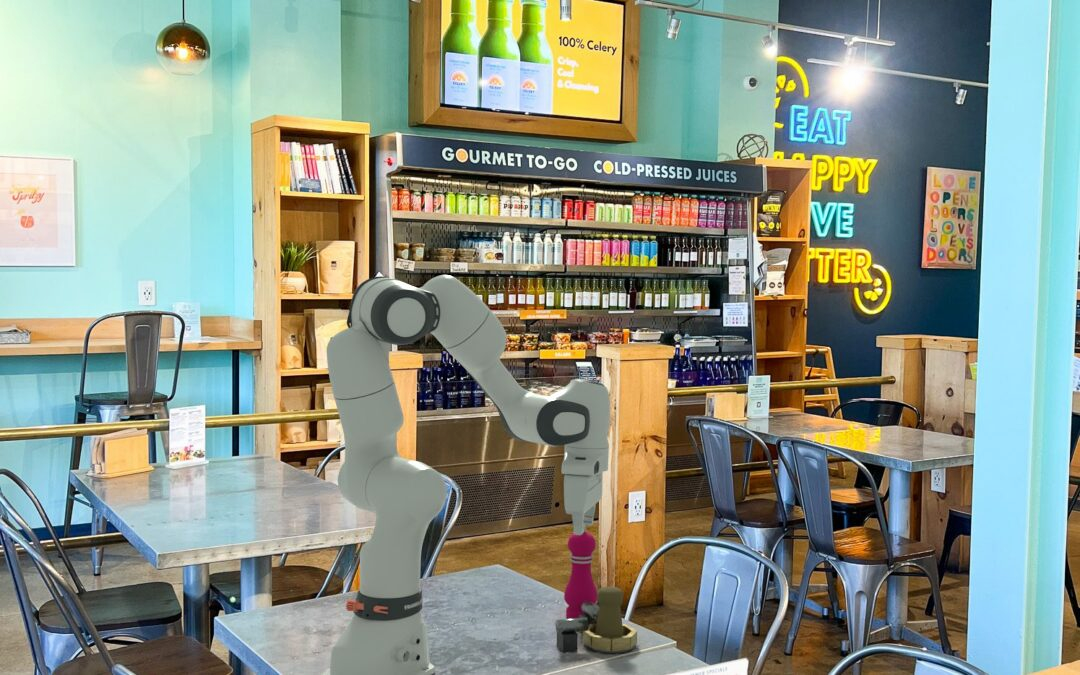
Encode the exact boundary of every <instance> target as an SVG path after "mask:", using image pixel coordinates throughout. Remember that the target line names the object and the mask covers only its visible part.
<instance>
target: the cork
mask: <svg viewBox="0 0 1080 675" xmlns="http://www.w3.org/2000/svg"><path fill="white" fill-rule="evenodd" d="M597 602H598V604H599V606H598V607H599V613H598V620H597V626H596V633H595V635H598V636H605V637H620V636H624V635H623V625H622V624H623V619H622V609H621V608H622V607H621V605H622V603H623V602H624V593H623V590H622V589H621V588H618V587H616V586H602V587H601V588H599V589H598V590H597Z"/></svg>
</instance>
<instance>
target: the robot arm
mask: <svg viewBox="0 0 1080 675" xmlns="http://www.w3.org/2000/svg"><path fill="white" fill-rule="evenodd" d="M346 325H347V328H345V329H343V330H341V331H339V332H337V333H335V335H333V336H332V337H331V338H330V339H329V341H328V343H327V346H326V362H327V371H328V375H329V382H330V387H331V391H332V395H333V398H334V402H335V404H336V409H337V412H338V416H339V420H340V423H341V424H340V425H341V427H342V432H343V436H344V437H343V438H344V462H343V463H342V465H341V466H340V468H339V471H338V474H337V487H338V490H339V493H340V494H341V495H342V497H343V498H344V499H345V500H347V501H348V502H349V503H350V504H352V505H353V506H355V507H356V508H358V509H360V510H363V511H367V512H369V513H373V514H375V524H374V527H373V531H372V535H371V537H370V539H369V540H367V541H366V542H365V543H364V544H363V545H362V547H361V549H360V552H359V589H358V590H357V594H356V597H355V600H354V599H348V600H346V603H345V609H346V611H347V612H353V613H354V614H353V616H352V618H351V620H350V621H349V622H348V624H347V625H346V626H345V628H344V630H343V631H342V633H341V635H340V636H339V638H337V640H336V642H335V644H334V645H333V646H332V650H331V654H330V667H328V668H327V669H325V671H323V672H322V673H321V674H320V675H434V674H435V673H436V668H435V665H434V664H432V663H431V661H430V647H429V635H428V634H429V633H428V627H427V624H426V622H425V620H424V618H423V616H422V613H421V611H422V609H423V603H424V602H423V601H424V596H423V590H422V588H421V564H422V563H421V559H422V558H421V557H422V549H423V548H422V547H423V543H424V540H425V536H426V533H427V530H428V528H429V525H430V523H431V522H432V520H433V519H434V518H436V517H437V516H439V514H440V513H441V511H442V510H443V508H444V506H445V504H446V500H447V494H448V489H447V488H448V487H447V483H446V480H445V479H444V476H443V475H442V474H441V473H440V472H439V471H437V470H436V469H434V468H433V467H431V466H429V465H428V464H426V463H424V462H421V461H418V460H413V459H409V458H404V457H402V456H401V455H400V453H399V451H398V447H397V446H398V445H397V442H398V441H397V439H398V438H397V437H398V432H399V431H400V430H401V428H402V427H403V424H404V418H405V417H404V413H403V410H402V406H401V401H400V398H399V395H398V390H397V387H396V383H395V378H394V376H393V372H392V369H391V366H390V350H391V347H392V345H396V346H405V345H409V344H412V343H415V342H416V341H418V340H420V339H421V338H423V337H424V336H427V335H428V334H431V335H433V336H434V338H436V340H437V341H438V342H439V343H440V344H441V345H442V347H443V348H445V350H446V351H447V352H448V353H449V354H450V355H451V356H452V357H453V358H454V360H456V361H457V362H458V363H459V364H460V365H461V366H462V367H463V368H464V369H465V371H466V372H468V373H469V375H470V376H471V378H472V379H473V380H474V382H475V383H476V384H477V385H478V387H480V389H481V390H482V391H483V392H484V393H485V395H486V396H487V397H488V399H489V400H490V401H491V403H492V404H493V405H494V407H495V408H496V410H497V413H498V415H499V417H500V420H501V424H502V426H503V428H504V431H506V433H507V434H508V435H509V436H510V437H511V438H512V439H514V440H516V441H518V442H527V443H528V442H529V443H535V444H538V445H543V446H548V447H559V446H564V454H563V460H562V463H561V474H562V475H564V477H563V500H564V510H565V513H566V514H567V515H571V519H572V525H573V530H572V531H573V533H574V534H575V535H582V534H583V532H584V526H585V527H591V526H592V525H593V524H594V516H595V512H596V504H598V503H599V501H601V500H602V499H603V498H602V497H603V473H604V472H608V470H609V455H610V454H609V449H610V445H609V439H608V432H609V430H610V427H611V426H610V425H611V401H610V400H611V398H610V394H609V390H608V388H607V387H606V386H605V385H604V384H603V383H601V382H598V381H593V380H590V379H589V380H588V379H585V378H584V379H583V378H575V379H571V380H570V381H569V383H568V384H566V386H564V387H563V388H561V389H560V390H558V391H556V392H554V393H551V394H549V395H545V394H539V393H538V394H537V393H535V392H532V391H529V390H527V389H525V388H523V387H522V386H521V385H520V383H518V382H517V381H516V379H515V378H514V376H513V375H512V374H511V373H510V371H509V370H508V369H507V368H506V366H505V365H504V364H503V363H502V361H501V357H502V355H503V353H504V352H505V350H506V345H507V338H508V337H507V332H506V330H505V328H504V326H503V324H502V323H501V321H500V320H499V319H498V317H497V316H496V314H494V312H493V311H492V310H491V309H490V308H489V306H488V305H487V304H486V303H485V302H484V301H483V300H482V299H481V298H480V296H478V295H477V294H476V293H475V292H474V291H473V290H472V289H471V288H470V287H468V285H466V284H464V283H463V282H462V281H461V280H459V279H458V278H457V277H455V276H452V275H448V274H441V275H437V276H435V277H432V278H431V279H430V280H427V282H426V283H424V284H423V285H422V286H421V287H416V286H413V285H411V284H408V283H406V282H404V281H402V280H399V279H397V278H391V277H388V276H380V275H379V276H375V277H374V276H373V277H371V278H368V279H365V280H364V281H362V282H361V283H360V284H359V285H358V286H357V287H356V289H355V290H354V292H353V293H352V298H351V301H350V307H349V312H348V316H347V319H346ZM573 533H572V534H573Z"/></svg>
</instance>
